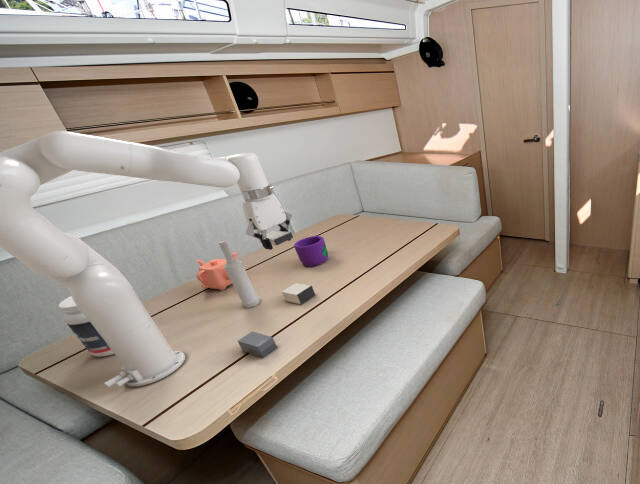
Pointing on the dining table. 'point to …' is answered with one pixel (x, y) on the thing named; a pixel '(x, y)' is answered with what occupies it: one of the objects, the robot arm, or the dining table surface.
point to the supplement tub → (84, 329)
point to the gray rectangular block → (257, 344)
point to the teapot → (214, 273)
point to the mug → (311, 250)
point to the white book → (278, 237)
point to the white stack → (298, 293)
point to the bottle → (239, 278)
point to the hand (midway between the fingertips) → (278, 244)
